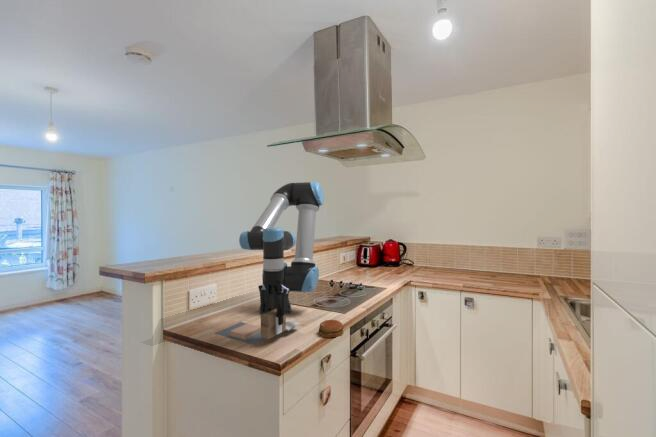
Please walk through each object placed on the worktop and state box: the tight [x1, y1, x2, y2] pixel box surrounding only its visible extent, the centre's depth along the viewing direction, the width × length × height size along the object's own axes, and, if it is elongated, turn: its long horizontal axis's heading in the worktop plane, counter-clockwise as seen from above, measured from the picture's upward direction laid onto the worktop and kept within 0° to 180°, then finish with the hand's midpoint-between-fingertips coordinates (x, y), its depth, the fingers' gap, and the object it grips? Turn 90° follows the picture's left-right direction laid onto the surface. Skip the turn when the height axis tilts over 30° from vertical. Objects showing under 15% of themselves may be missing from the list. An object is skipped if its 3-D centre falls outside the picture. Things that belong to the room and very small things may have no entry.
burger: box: [318, 319, 344, 339], centre depth 122 cm, size 10×9×5 cm
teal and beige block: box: [230, 323, 261, 340], centre depth 120 cm, size 2×8×9 cm
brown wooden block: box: [260, 309, 301, 340], centre depth 118 cm, size 18×6×8 cm, turn 150°
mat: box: [214, 321, 267, 345], centre depth 122 cm, size 22×14×1 cm, turn 60°
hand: (274, 331), depth 115 cm, fingers closed on brown wooden block, 3 cm apart
